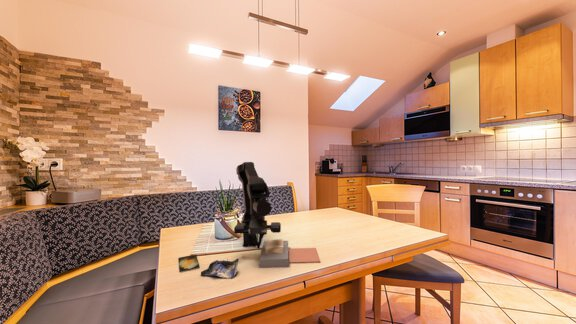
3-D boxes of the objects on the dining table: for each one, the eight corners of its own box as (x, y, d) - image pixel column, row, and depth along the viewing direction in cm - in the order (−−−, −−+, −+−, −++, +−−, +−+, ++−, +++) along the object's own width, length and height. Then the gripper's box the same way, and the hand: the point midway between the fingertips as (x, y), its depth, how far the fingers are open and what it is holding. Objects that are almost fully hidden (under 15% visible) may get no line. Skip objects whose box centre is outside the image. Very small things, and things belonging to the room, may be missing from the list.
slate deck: (259, 267, 89) (259, 259, 89) (264, 247, 109) (264, 241, 109) (288, 266, 89) (288, 258, 89) (288, 247, 109) (288, 240, 109)
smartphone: (196, 254, 103) (200, 267, 89) (196, 255, 103) (200, 269, 89) (178, 257, 99) (179, 272, 86) (178, 259, 99) (179, 274, 86)
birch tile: (265, 253, 94) (265, 247, 94) (267, 245, 103) (267, 239, 103) (283, 253, 94) (283, 246, 94) (283, 245, 103) (283, 239, 103)
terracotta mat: (289, 263, 92) (289, 262, 92) (288, 249, 106) (288, 248, 106) (320, 262, 92) (320, 261, 92) (315, 248, 106) (315, 247, 106)
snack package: (208, 287, 76) (242, 275, 83) (205, 266, 77) (240, 256, 84) (198, 279, 86) (230, 268, 93) (196, 260, 87) (228, 251, 94)
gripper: (230, 216, 90) (231, 257, 90) (279, 214, 90) (280, 255, 91) (236, 209, 101) (237, 246, 102) (280, 208, 101) (281, 245, 102)
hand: (258, 248), depth 99 cm, fingers closed
